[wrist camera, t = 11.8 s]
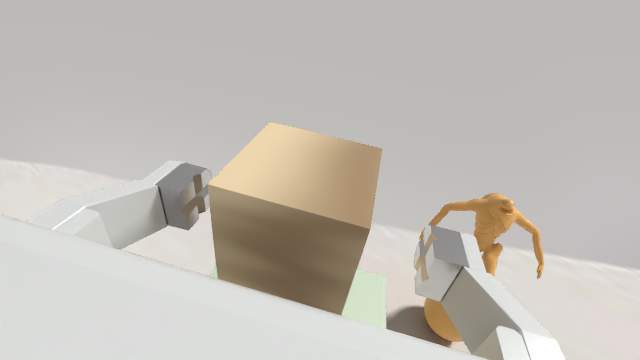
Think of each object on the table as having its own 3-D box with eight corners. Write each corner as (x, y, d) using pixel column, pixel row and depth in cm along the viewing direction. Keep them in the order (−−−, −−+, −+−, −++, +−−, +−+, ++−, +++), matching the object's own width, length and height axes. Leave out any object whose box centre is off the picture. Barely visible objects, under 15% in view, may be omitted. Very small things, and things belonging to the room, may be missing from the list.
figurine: (389, 329, 23) (446, 218, 16) (395, 271, 28) (442, 166, 21) (500, 371, 22) (614, 267, 15) (487, 301, 26) (568, 199, 19)
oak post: (227, 365, 13) (207, 184, 7) (263, 288, 16) (270, 121, 10) (314, 396, 12) (370, 228, 7) (333, 310, 16) (382, 148, 10)
